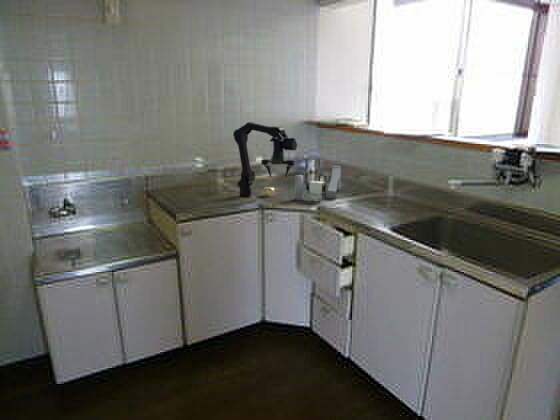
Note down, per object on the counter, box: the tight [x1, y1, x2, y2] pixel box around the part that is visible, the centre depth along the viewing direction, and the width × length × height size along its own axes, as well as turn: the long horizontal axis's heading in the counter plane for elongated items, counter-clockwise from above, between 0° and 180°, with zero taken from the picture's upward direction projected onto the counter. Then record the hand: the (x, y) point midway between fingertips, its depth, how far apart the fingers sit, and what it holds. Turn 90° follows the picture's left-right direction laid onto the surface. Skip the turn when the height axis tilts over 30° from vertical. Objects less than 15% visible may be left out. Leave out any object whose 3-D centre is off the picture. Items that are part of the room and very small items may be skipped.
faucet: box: [325, 165, 342, 200], centre depth 239 cm, size 6×17×30 cm
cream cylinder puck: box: [263, 186, 275, 198], centre depth 231 cm, size 6×6×5 cm
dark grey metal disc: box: [293, 197, 306, 202], centre depth 222 cm, size 7×7×1 cm
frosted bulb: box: [293, 174, 305, 199], centre depth 220 cm, size 5×5×13 cm
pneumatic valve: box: [305, 179, 329, 202], centre depth 218 cm, size 6×12×12 cm, turn 62°
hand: (278, 177), depth 219 cm, fingers open, 9 cm apart
